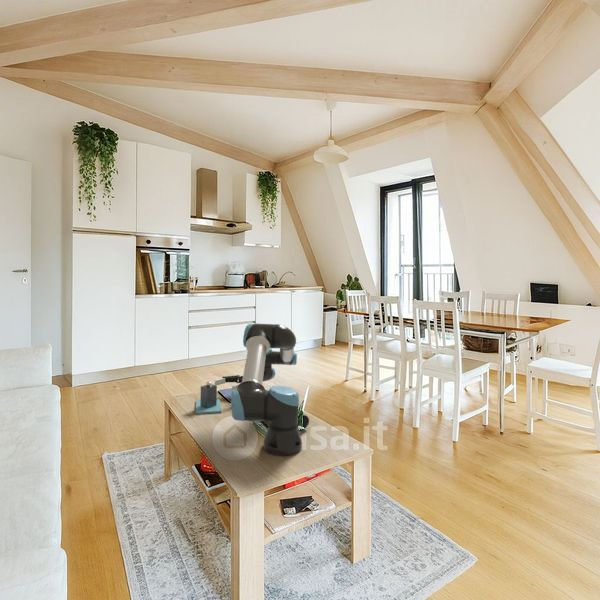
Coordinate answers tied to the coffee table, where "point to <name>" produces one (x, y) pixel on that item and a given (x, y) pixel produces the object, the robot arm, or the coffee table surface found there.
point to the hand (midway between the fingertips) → (223, 385)
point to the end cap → (305, 421)
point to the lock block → (208, 395)
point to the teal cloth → (208, 410)
